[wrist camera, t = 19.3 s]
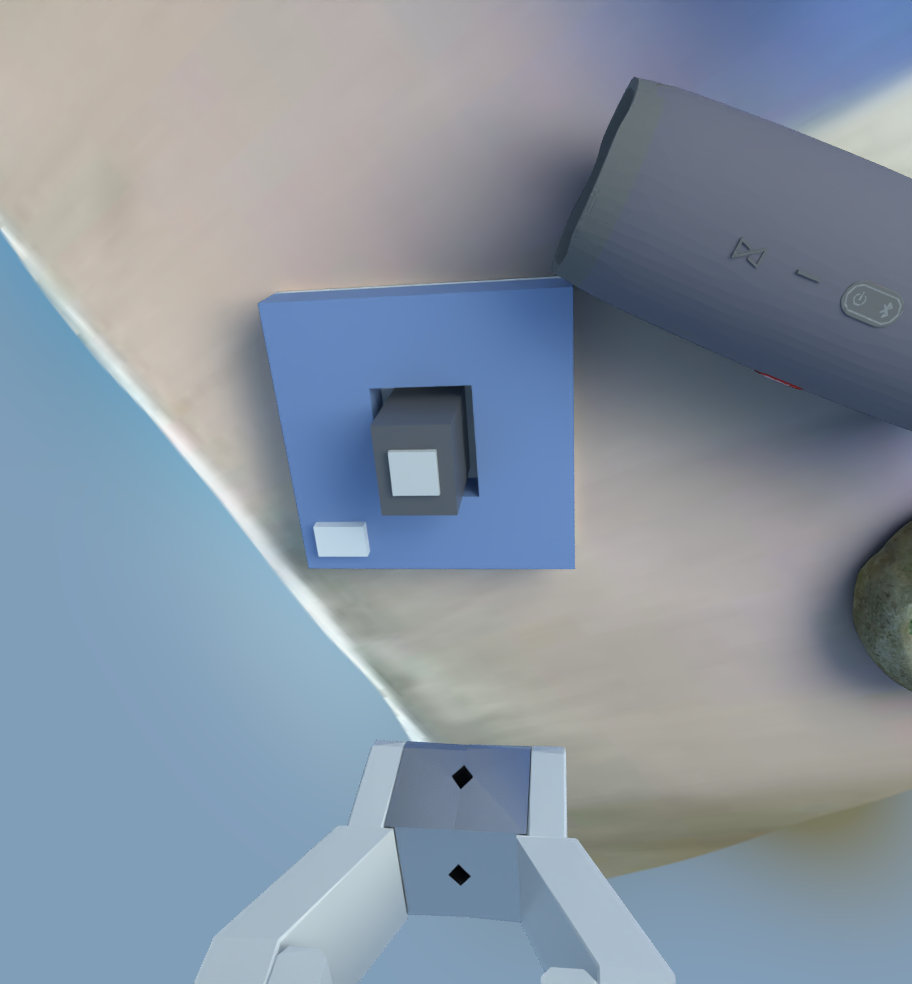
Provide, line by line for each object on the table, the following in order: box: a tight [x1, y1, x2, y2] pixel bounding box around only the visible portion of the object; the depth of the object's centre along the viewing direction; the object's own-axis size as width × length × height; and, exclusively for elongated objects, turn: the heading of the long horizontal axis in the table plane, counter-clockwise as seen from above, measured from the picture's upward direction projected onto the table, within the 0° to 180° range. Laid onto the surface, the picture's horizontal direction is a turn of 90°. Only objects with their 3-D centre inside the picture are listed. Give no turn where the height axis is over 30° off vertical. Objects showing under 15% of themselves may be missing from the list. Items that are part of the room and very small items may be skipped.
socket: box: [258, 276, 575, 569], centre depth 41 cm, size 16×16×4 cm
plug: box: [370, 386, 470, 516], centre depth 39 cm, size 5×4×6 cm
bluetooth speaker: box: [552, 77, 912, 431], centre depth 32 cm, size 23×9×10 cm, turn 69°
